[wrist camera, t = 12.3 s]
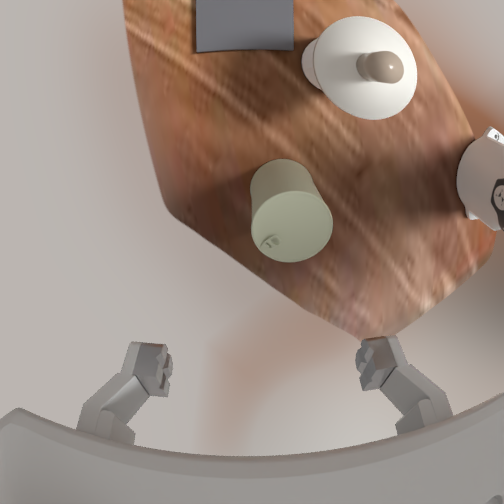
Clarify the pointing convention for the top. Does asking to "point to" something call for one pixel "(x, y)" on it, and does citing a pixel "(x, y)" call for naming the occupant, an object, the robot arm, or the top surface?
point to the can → (288, 212)
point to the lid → (365, 67)
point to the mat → (244, 25)
